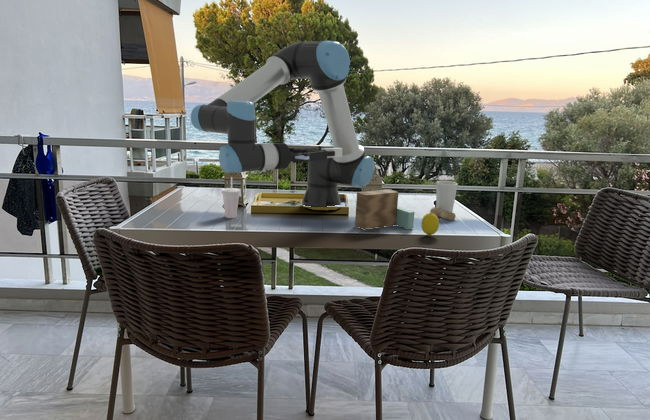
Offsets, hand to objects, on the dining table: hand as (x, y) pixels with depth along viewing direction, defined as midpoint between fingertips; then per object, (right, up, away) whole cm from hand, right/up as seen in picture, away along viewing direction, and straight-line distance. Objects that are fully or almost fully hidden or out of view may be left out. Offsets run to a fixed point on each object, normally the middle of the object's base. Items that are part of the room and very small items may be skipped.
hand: (340, 152), depth 155 cm
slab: (+12, -24, +15) cm, 31 cm away
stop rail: (+20, -23, +19) cm, 36 cm away
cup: (+41, -20, +38) cm, 59 cm away
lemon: (+29, -27, +6) cm, 40 cm away
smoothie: (-38, -21, +19) cm, 47 cm away
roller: (+38, -21, +31) cm, 54 cm away
